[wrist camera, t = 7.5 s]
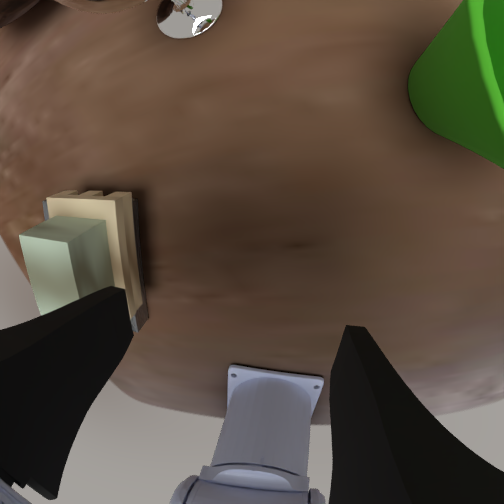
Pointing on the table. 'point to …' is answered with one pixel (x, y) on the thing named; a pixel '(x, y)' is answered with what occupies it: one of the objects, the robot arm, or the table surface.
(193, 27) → the wineglass
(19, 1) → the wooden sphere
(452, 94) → the cup
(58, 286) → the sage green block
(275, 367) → the table surface
